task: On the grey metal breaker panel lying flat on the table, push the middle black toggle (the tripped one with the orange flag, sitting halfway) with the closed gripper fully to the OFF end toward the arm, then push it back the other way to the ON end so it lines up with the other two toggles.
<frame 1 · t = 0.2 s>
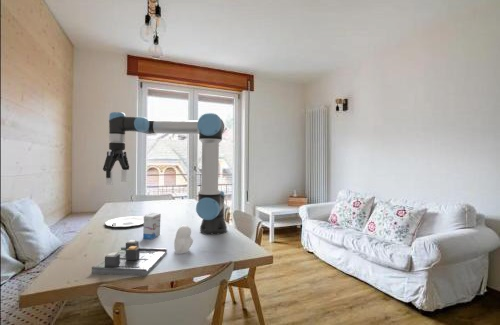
hand: (117, 183, 139), 28 cm above the table, fingers open, 13 cm apart
figurine: (182, 251, 119), on the table
ink box: (151, 237, 139), on the table
panel: (132, 262, 106), on the table
plate: (128, 224, 164), on the table
breaker 1: (132, 246, 113), point 4 cm above the table, slide at 4.0 cm
breaker 2: (132, 252, 106), point 4 cm above the table, slide at 0.0 cm
breaker 3: (112, 259, 98), point 4 cm above the table, slide at 4.0 cm
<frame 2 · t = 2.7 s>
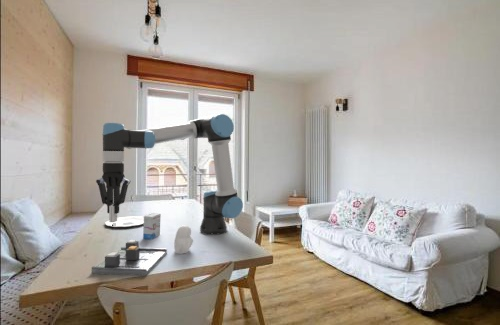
hand: (113, 221, 106), 16 cm above the table, fingers closed
nothing on the table moved.
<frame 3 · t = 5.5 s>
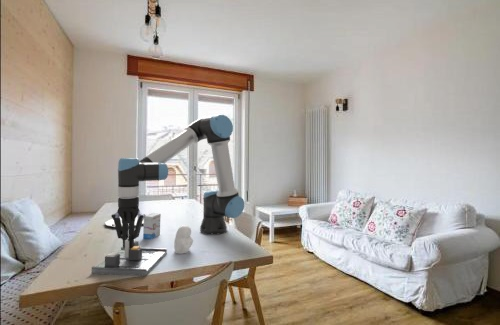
hand: (128, 255, 106), 3 cm above the table, fingers closed
breaker 2: (135, 252, 106), point 4 cm above the table, slide at -1.1 cm, touching gripper
everything else where it was.
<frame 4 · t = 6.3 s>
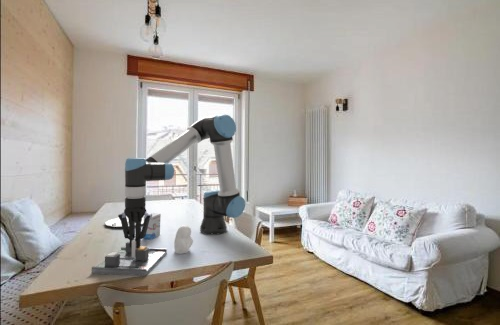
hand: (135, 255, 106), 3 cm above the table, fingers closed
breaker 2: (142, 253, 105), point 4 cm above the table, slide at -3.8 cm, touching gripper
everything else where it was.
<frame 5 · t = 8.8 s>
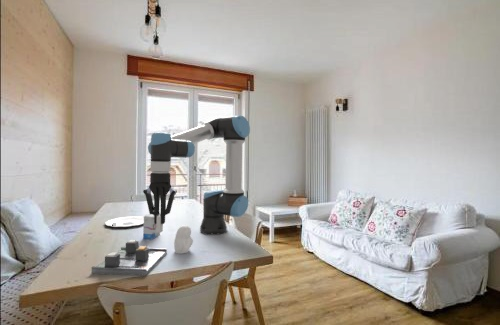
hand: (159, 231, 105), 13 cm above the table, fingers closed
breaker 2: (142, 253, 105), point 4 cm above the table, slide at -3.8 cm
everything else where it was.
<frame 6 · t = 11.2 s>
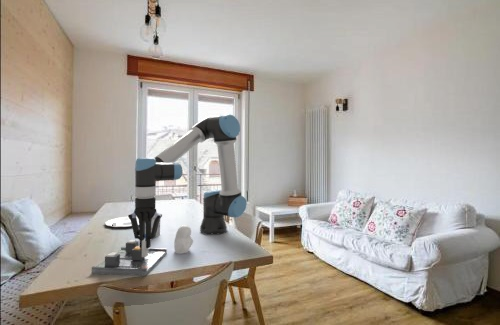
hand: (145, 255, 105), 3 cm above the table, fingers closed
breaker 2: (138, 253, 106), point 4 cm above the table, slide at -2.3 cm, touching gripper
everything else where it was.
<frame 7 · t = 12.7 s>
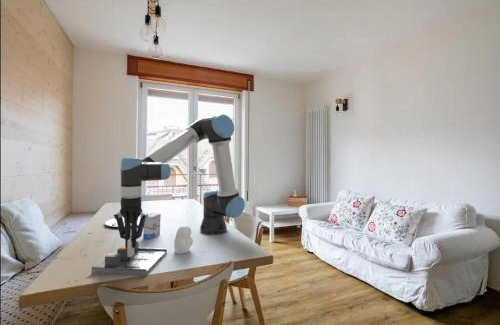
hand: (130, 255, 106), 3 cm above the table, fingers closed
breaker 2: (124, 252, 106), point 4 cm above the table, slide at 3.5 cm, touching gripper
everything else where it was.
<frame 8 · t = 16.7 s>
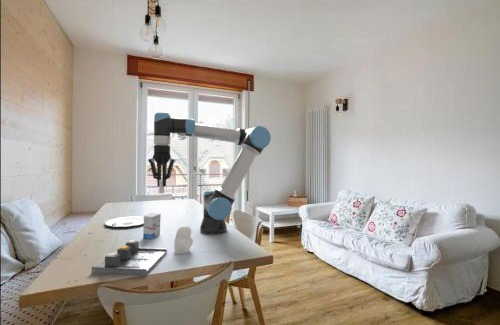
hand: (161, 193, 130), 24 cm above the table, fingers closed
breaker 2: (124, 252, 106), point 4 cm above the table, slide at 3.5 cm
everything else where it was.
at the end: breaker 2 slide at 3.5 cm; breaker 1 slide at 4.0 cm; breaker 3 slide at 4.0 cm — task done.
